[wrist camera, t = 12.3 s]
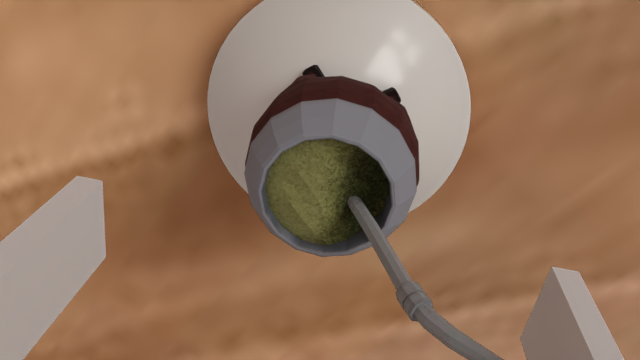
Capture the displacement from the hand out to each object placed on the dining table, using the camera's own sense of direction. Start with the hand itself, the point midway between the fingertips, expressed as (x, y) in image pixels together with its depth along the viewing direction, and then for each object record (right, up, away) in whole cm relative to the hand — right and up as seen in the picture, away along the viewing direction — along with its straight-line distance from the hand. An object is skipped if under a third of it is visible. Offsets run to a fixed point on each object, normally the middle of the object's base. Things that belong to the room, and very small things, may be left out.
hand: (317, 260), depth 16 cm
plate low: (+1, +6, +12) cm, 14 cm away
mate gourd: (+2, +5, +11) cm, 12 cm away
